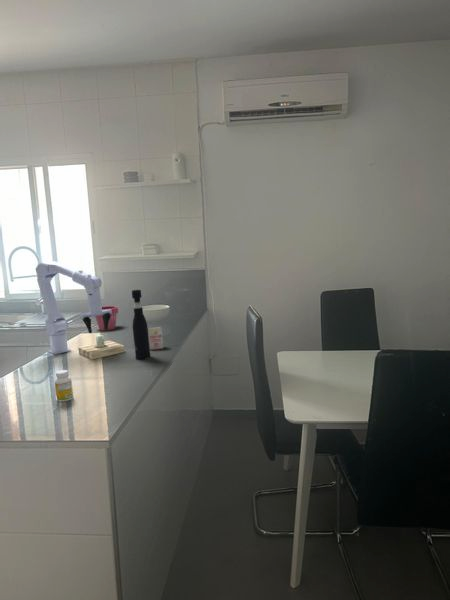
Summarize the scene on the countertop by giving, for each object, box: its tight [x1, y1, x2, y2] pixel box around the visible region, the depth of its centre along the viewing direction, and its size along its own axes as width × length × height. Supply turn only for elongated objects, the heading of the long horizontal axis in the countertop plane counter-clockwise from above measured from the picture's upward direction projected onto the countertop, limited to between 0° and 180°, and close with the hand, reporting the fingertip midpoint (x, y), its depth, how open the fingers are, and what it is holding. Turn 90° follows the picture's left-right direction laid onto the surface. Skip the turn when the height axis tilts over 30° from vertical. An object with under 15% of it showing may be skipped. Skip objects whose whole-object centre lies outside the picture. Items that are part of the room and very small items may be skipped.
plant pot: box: [94, 305, 119, 331], centre depth 276 cm, size 14×14×13 cm
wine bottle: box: [131, 289, 152, 361], centre depth 204 cm, size 6×6×30 cm
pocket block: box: [77, 340, 125, 360], centre depth 220 cm, size 16×16×3 cm
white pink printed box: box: [148, 326, 165, 351], centre depth 220 cm, size 4×7×10 cm, turn 98°
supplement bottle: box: [54, 369, 74, 403], centre depth 159 cm, size 5×5×10 cm
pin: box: [95, 334, 105, 349], centre depth 220 cm, size 4×4×8 cm
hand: (98, 331), depth 219 cm, fingers open, 7 cm apart
